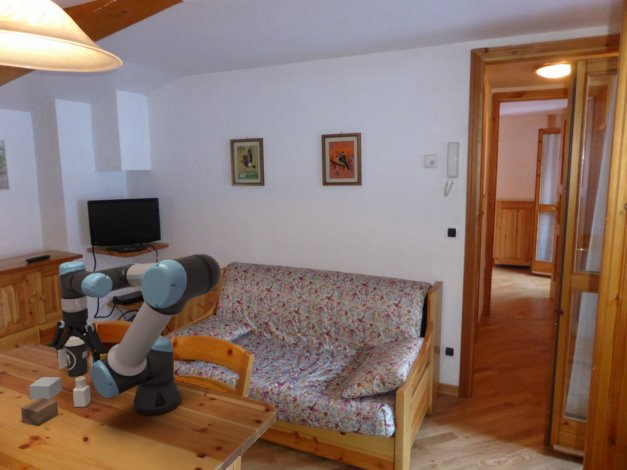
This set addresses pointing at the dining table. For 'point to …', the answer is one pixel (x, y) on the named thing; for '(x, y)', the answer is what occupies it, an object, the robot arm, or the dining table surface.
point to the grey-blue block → (45, 388)
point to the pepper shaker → (81, 392)
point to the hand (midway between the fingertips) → (79, 370)
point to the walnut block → (39, 411)
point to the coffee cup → (76, 357)
